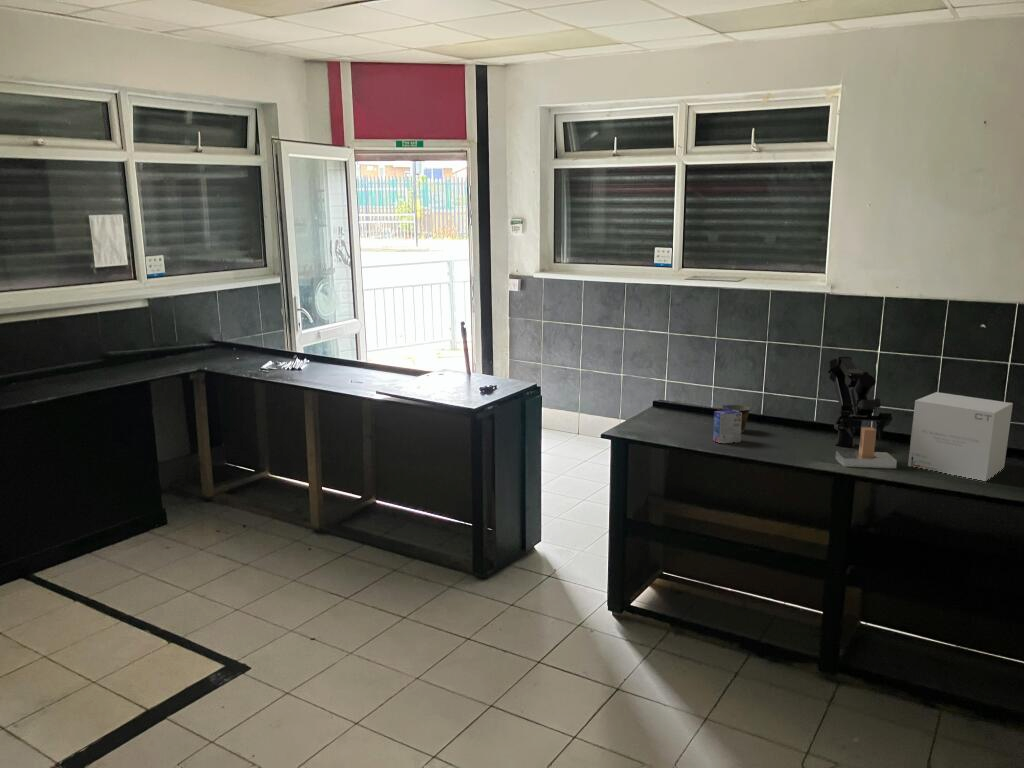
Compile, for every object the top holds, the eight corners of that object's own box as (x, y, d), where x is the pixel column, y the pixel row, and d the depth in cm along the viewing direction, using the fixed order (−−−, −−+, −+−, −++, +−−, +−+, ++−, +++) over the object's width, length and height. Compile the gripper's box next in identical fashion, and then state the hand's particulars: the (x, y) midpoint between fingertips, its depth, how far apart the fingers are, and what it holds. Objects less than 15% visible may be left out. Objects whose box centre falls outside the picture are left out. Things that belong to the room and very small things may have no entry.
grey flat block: (835, 458, 295) (836, 450, 295) (886, 460, 293) (887, 452, 293) (843, 466, 286) (844, 458, 285) (896, 468, 284) (896, 460, 283)
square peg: (857, 461, 292) (861, 427, 289) (869, 462, 291) (872, 427, 289) (861, 464, 288) (864, 429, 285) (872, 465, 287) (876, 430, 285)
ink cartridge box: (733, 438, 321) (736, 403, 318) (741, 442, 316) (743, 406, 313) (711, 440, 318) (713, 405, 315) (719, 444, 313) (721, 408, 310)
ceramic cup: (746, 428, 337) (747, 405, 335) (749, 434, 328) (751, 410, 326) (714, 427, 339) (716, 404, 337) (717, 433, 330) (718, 409, 328)
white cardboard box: (907, 467, 287) (915, 400, 282) (928, 455, 302) (936, 392, 297) (985, 483, 270) (994, 412, 265) (1003, 470, 284) (1012, 403, 279)
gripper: (840, 389, 291) (846, 426, 282) (893, 390, 289) (901, 428, 280) (832, 405, 300) (837, 441, 292) (884, 407, 298) (891, 443, 290)
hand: (867, 438), depth 288 cm, fingers open, 9 cm apart
